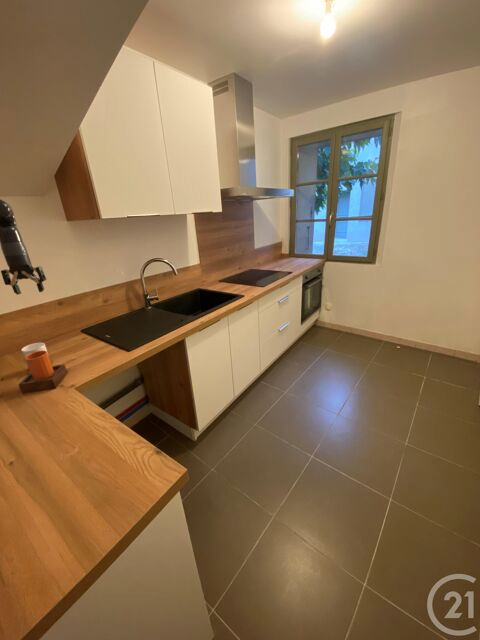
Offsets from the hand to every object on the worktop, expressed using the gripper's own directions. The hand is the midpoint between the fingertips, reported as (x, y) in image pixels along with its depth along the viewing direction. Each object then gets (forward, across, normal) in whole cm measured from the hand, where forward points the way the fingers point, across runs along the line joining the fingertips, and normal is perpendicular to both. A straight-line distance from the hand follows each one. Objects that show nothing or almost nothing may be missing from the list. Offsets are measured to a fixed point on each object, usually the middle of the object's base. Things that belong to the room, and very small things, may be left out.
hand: (30, 292), depth 110 cm
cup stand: (+30, -8, +24) cm, 40 cm away
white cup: (+30, 0, +11) cm, 32 cm away
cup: (+27, -8, +24) cm, 37 cm away
